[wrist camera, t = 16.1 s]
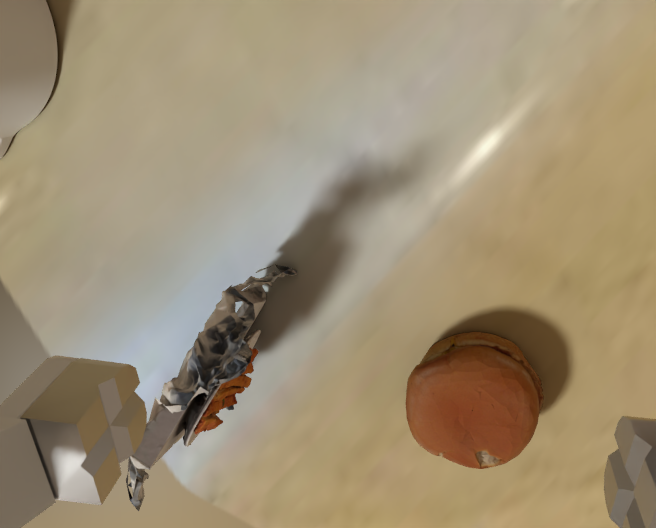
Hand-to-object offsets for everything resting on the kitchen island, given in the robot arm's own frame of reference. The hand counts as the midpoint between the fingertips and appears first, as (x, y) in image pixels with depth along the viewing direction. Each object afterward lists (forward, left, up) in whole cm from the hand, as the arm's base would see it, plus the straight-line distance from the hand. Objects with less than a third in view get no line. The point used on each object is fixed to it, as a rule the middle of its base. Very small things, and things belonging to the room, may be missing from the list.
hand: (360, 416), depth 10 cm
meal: (-14, -17, -31) cm, 38 cm away
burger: (+4, -18, -31) cm, 36 cm away
